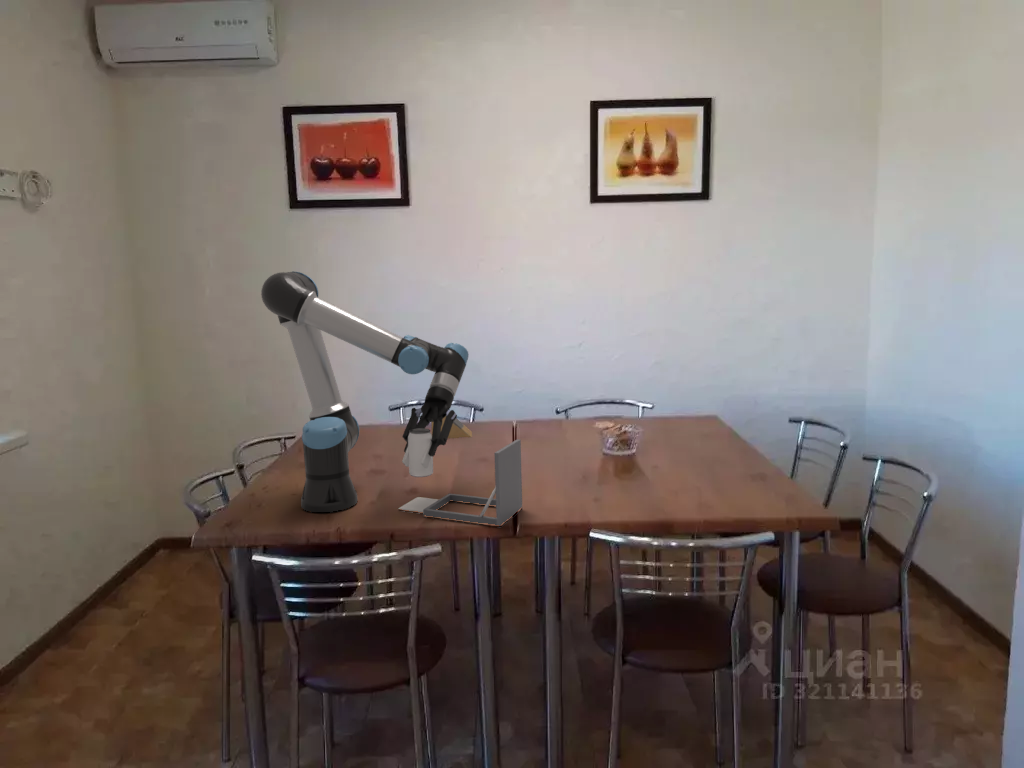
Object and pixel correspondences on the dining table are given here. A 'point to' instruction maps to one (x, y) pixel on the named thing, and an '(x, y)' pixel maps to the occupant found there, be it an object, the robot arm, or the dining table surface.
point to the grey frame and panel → (506, 491)
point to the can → (419, 452)
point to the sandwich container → (456, 429)
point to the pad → (418, 504)
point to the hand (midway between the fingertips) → (414, 464)
